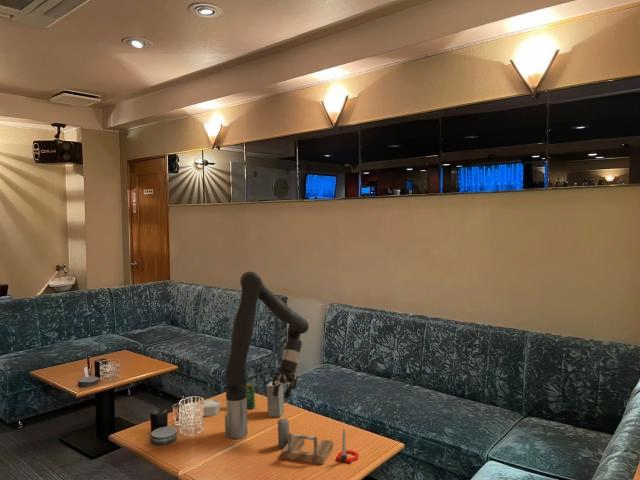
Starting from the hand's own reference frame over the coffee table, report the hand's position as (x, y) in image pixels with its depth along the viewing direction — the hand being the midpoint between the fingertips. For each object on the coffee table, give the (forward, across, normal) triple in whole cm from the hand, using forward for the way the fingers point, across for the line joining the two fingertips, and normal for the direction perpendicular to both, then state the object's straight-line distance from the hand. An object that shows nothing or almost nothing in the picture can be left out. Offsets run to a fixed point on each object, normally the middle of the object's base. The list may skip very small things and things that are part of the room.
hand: (280, 397), depth 204 cm
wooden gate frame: (+19, +15, +10) cm, 26 cm away
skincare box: (+7, -27, +20) cm, 34 cm away
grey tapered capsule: (+19, +3, +6) cm, 20 cm away
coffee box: (+7, -44, +14) cm, 47 cm away
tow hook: (+17, +29, +19) cm, 39 cm away
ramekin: (+14, -53, -2) cm, 55 cm away
